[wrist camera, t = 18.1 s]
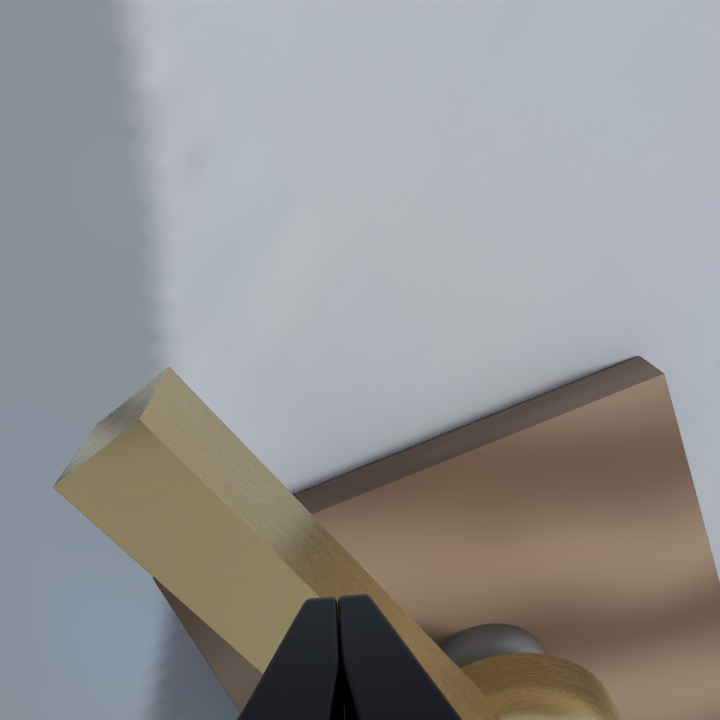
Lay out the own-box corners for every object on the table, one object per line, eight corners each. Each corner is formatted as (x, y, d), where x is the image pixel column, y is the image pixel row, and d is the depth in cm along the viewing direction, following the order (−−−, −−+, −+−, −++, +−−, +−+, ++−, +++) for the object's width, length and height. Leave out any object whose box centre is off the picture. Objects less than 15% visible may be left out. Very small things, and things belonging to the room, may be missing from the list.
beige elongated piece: (654, 743, 20) (733, 886, 16) (480, 844, 21) (517, 1001, 17) (258, 282, 14) (240, 339, 11) (48, 451, 15) (-37, 557, 12)
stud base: (739, 714, 25) (806, 808, 22) (355, 852, 27) (362, 961, 23) (639, 355, 20) (708, 405, 17) (163, 547, 21) (134, 631, 18)
